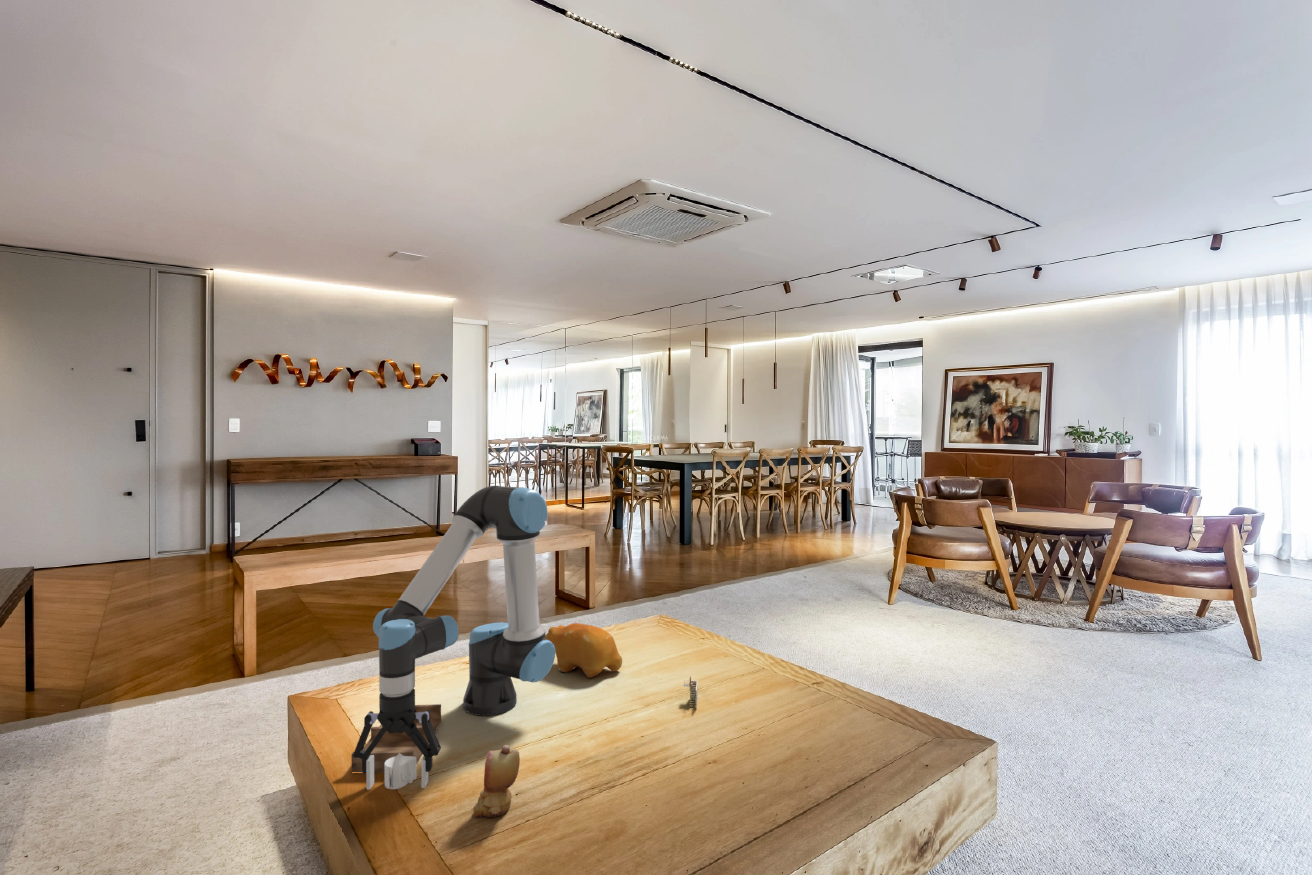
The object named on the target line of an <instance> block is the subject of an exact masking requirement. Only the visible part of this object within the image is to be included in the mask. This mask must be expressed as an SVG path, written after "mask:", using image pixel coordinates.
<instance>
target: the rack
mask: <svg viewBox="0 0 1312 875" xmlns="http://www.w3.org/2000/svg"><path fill="white" fill-rule="evenodd" d="M415 709H416V711H417V712H425V710H429V711H430V721H431V724H432V726H433V729H434V731H435V732H436V731H437V729H438V728H439V726H440V724H441V722H442V704H441V703H438V704H415ZM414 723H415V724H416V726H417V729H418V730H419V732H420V733H421V734H422V736H423V737H424V738H425V740H426V741H427V742H428V740H427V738H426V735H425V733H424V730H423V728H422V723H420V722H419V720H418V719H417V718H416V719H415V720H414ZM382 727H383V726H382V725H381V724H380V725H379V726H372V727H371V730H370V739H369V740H368V741H366V743H365V745H364V748H363V750H367V748H368V747H369V746H370V744H371V743H372V741H373V740H374V738H375V737H376V736H377V734H378V733H379V731H380V730H381V728H382ZM428 744H429V743H428ZM399 753H400V754H402V755H403V756H415V757H416V766H417V765H418V763H419V762H420V760H421V759H422V758H421V757H423V754H422V753H421V751H420V750H419V749H418V747H417V746H416V745H415V743H414V742H413V740H412V739H411V738H410V736H407V734H406V733H405V732H403V733H397V732H395V733H389V732H387V731H386V732H385V734H384V735H383V737H382V738H381V739H380V741H379V742H378V744H377V745H376V747H375V748H374V749H373V751H372V752H371V754H370V755H374V774H381V773H382V774H385V761H386V760H388V759H389V758H392V757H395V756H397V755H398V754H399ZM353 754H354V751H352V752H351V756H350V758H351V773H352V772H362V759H361V758H358V757H357V758H354V757H353Z"/></svg>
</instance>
